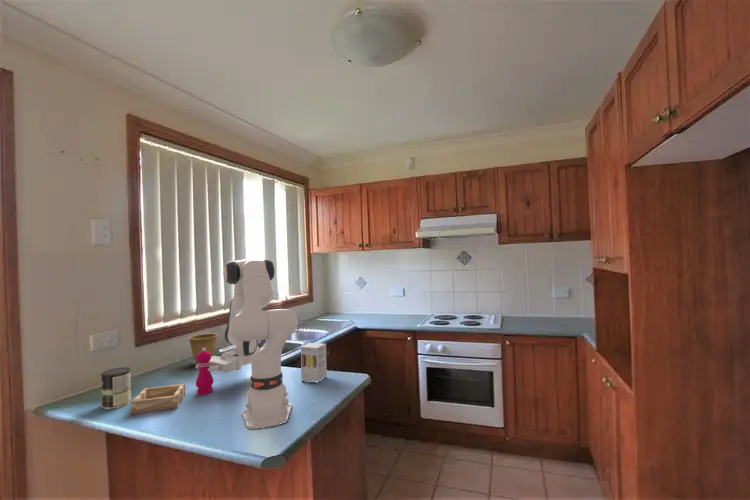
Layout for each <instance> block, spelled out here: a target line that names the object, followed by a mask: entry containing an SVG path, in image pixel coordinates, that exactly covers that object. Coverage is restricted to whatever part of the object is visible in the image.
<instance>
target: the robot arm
mask: <svg viewBox="0 0 750 500" xmlns="http://www.w3.org/2000/svg"><path fill="white" fill-rule="evenodd" d="M275 268H276V267H275V264H274V262H272V260H270V259H250V258H249V259H240V260H231V261H228V262H227V263H225V265H224V268H223V278H224V280H225V282H226V283H227V284H229V285H234V287H233V288H234V289H233V297H232V298H231V301H230V305H229V311H228V317H227V318H228V320H227V324H226V329H225V332H224V339H225V341H226V342H227V343H228V344H231V345H233V346H235V347H236V348H235V349H231V350H228V351H225V352H223V353H222V355H221V356H216V355H214V356H212V357H211V359H210V365H209V367H208V371H209V372H210V373H211V372H216V371H217V372H218V371H220V372H223V373H229V372H233V371H240V370H242V367H245V366H247V365H251V369H250V370H251V375H250V380H249V382H250V388H249V389H248V390H247V391H246V409H243V410H242V411H241V415H242V419H243V421H244V424H245V426H246V428H247V429H248V430H249V429H250V430H259V428H262V429H266V428H265V427H269V428H271V427H270V426H274V425H278V424H280V423H283V422H286V421H287V420H288V421H289V419H288V417H289V418H290V416H289V414H290V415H291V413H290V411H291V412H292V410H291V408H292V409H293V404H292V403H289V398H288V397H287V396H288V391H287V386H286V385H285V384H284V383H283V372H282V352H283V348H284V346H285V344H286V342H287V340H289V338H290V337H291V336H292V335H293V334H295V333H294V332H296V330H297V328H298V324H299V321H298V320H299V319H298V316H297V314H296V313H295V312H294V310H292V309H287V308H286V309H285V308H277V309H267V310H264V309H263V308H265V307H266V306H268V305H269V304H270V303H271V302H272V301H273V299H274V292H273V287H272V283H271V281H273V279H274V277H275V274H276V269H275ZM260 340H265V342H264V343H263V345H262V346H261V347H259V345H258V344H259V341H260ZM195 368H196V369H198V370H199V366H198V364H197V363H196V364H195ZM278 426H279V425H278ZM274 427H275V426H274Z"/></svg>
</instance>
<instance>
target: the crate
mask: <svg viewBox="0 0 750 500" xmlns="http://www.w3.org/2000/svg"><path fill="white" fill-rule="evenodd" d="M185 396H186V383H177V384H170V385H162V386H154V387H144V388H143V389H142V390H141V391H140V392H139V393H138V395H136V397H134V399H133V400H131V402H130V404H131V406H130V407H131V415H132V416H133V415H139V414H141V415H142V414H148V413H154V412H155V413H156V412H163V411H169V410H170V411H171V410H177V409H178V408H179V406H180V405H181V403H182V402H183V399H184V398H185Z"/></svg>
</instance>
